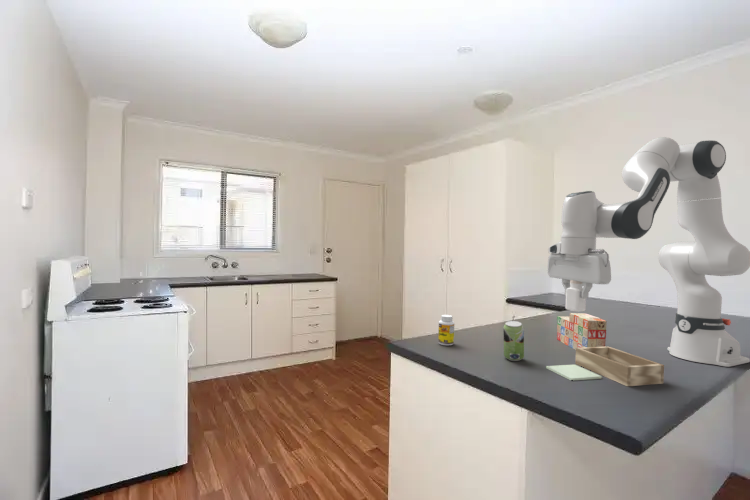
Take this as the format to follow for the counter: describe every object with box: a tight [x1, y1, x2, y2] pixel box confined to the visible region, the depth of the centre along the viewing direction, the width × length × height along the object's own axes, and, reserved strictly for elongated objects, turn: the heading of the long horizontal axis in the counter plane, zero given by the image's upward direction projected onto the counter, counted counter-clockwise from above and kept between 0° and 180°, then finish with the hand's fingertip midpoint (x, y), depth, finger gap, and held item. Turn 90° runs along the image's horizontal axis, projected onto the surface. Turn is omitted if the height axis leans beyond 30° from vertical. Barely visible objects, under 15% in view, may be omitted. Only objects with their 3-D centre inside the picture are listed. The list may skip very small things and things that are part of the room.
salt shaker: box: [565, 280, 587, 313], centre depth 106 cm, size 4×4×10 cm
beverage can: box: [503, 320, 525, 362], centre depth 118 cm, size 6×7×12 cm
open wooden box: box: [574, 345, 665, 387], centre depth 107 cm, size 12×18×5 cm, turn 13°
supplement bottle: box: [437, 314, 455, 346], centre depth 134 cm, size 6×6×10 cm
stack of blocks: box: [556, 312, 608, 351], centre depth 134 cm, size 21×6×12 cm, turn 179°
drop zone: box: [545, 364, 603, 381], centre depth 106 cm, size 10×10×1 cm
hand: (576, 296), depth 106 cm, fingers closed on salt shaker, 4 cm apart
